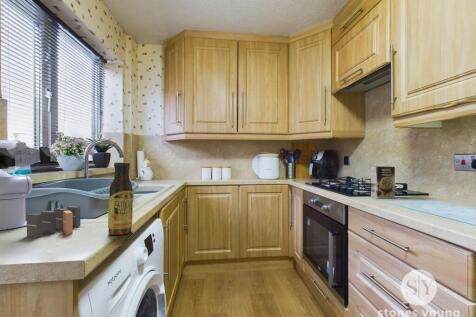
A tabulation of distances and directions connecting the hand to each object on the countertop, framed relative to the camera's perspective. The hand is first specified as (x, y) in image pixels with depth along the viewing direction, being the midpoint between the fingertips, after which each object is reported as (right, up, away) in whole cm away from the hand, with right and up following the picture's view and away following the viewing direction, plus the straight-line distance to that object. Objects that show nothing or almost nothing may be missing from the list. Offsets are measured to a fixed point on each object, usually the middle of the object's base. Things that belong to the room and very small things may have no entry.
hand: (32, 161), depth 69 cm
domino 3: (+2, -20, +9) cm, 22 cm away
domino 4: (+6, -20, +5) cm, 22 cm away
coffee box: (+128, -20, +64) cm, 145 cm away
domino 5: (+3, -20, +13) cm, 24 cm away
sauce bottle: (+21, -20, +4) cm, 30 cm away
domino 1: (-1, -20, +2) cm, 20 cm away
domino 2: (+1, -20, +5) cm, 21 cm away
